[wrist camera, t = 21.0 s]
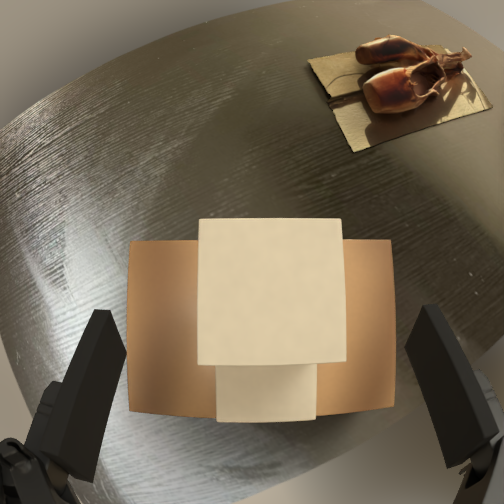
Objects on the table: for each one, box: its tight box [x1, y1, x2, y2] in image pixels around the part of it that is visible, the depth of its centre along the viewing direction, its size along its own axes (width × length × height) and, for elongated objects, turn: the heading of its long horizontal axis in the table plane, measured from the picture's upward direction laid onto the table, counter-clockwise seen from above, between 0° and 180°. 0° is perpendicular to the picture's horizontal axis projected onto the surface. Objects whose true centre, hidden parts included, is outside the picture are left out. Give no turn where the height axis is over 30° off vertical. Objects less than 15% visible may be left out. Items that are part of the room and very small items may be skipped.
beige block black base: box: [197, 218, 346, 423], centre depth 17 cm, size 11×6×10 cm, turn 0°
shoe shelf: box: [127, 240, 396, 418], centre depth 25 cm, size 20×13×6 cm, turn 90°
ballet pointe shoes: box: [308, 35, 493, 152], centre depth 31 cm, size 14×7×28 cm
